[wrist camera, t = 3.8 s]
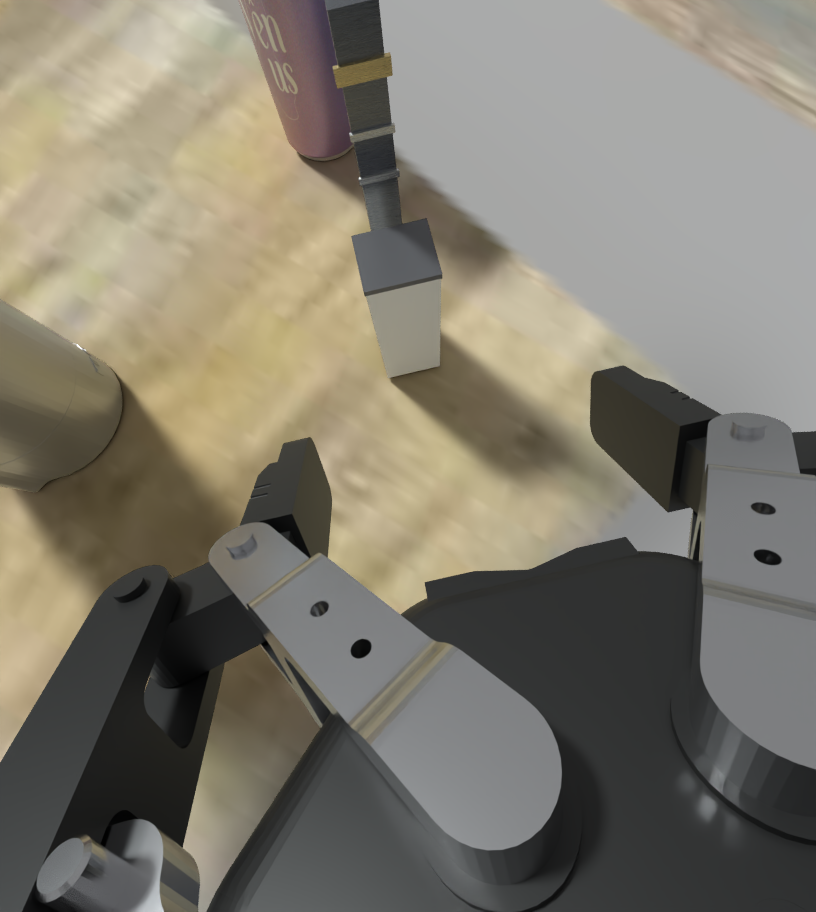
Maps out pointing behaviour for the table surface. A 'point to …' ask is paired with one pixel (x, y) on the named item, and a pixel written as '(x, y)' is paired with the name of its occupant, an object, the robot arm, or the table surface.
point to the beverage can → (301, 73)
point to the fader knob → (402, 294)
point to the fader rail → (367, 103)
